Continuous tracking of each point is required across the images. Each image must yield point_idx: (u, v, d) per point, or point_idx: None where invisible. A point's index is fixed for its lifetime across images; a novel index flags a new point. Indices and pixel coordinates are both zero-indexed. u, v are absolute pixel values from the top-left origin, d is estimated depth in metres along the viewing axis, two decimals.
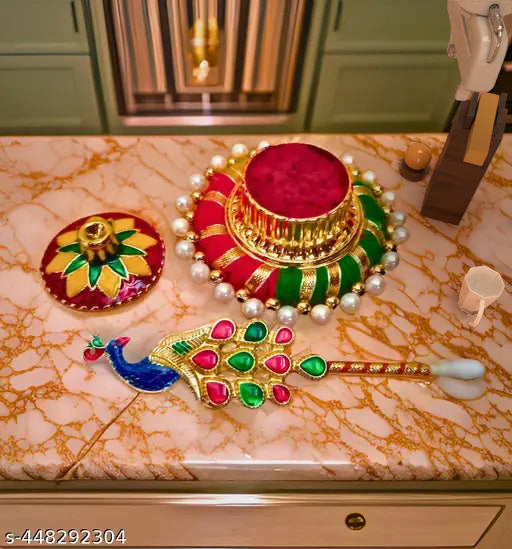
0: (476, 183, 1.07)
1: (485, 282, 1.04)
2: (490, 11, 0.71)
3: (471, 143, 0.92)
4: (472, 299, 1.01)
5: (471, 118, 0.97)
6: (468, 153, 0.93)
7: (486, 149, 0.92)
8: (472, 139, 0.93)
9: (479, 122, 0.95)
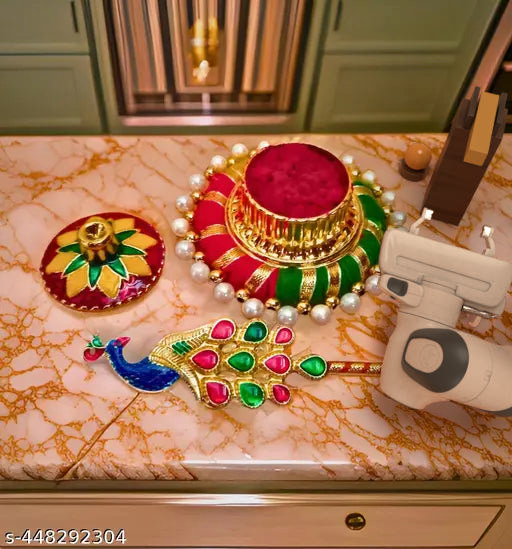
0: (476, 183, 1.07)
1: None
2: None
3: (471, 143, 0.92)
4: None
5: (471, 118, 0.97)
6: (468, 153, 0.93)
7: (486, 149, 0.92)
8: (472, 139, 0.93)
9: (479, 122, 0.95)
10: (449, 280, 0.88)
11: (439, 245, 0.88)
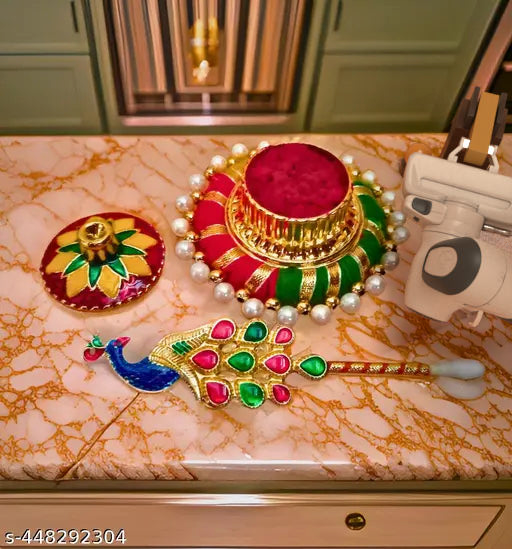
0: None
1: None
2: None
3: (471, 143, 0.92)
4: None
5: (471, 118, 0.97)
6: (468, 153, 0.93)
7: (486, 149, 0.92)
8: (472, 139, 0.93)
9: (479, 122, 0.95)
10: (471, 200, 0.92)
11: (461, 167, 0.92)
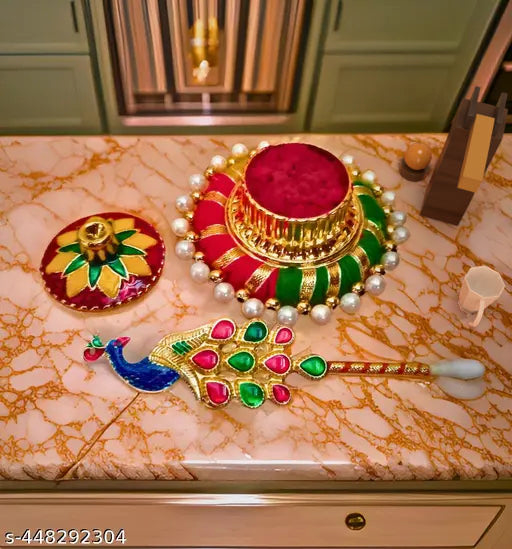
0: None
1: (485, 282, 1.04)
2: None
3: (465, 169, 0.89)
4: (472, 299, 1.01)
5: (471, 118, 0.97)
6: (462, 180, 0.89)
7: (481, 176, 0.89)
8: (466, 165, 0.90)
9: (474, 146, 0.92)
10: None
11: None
